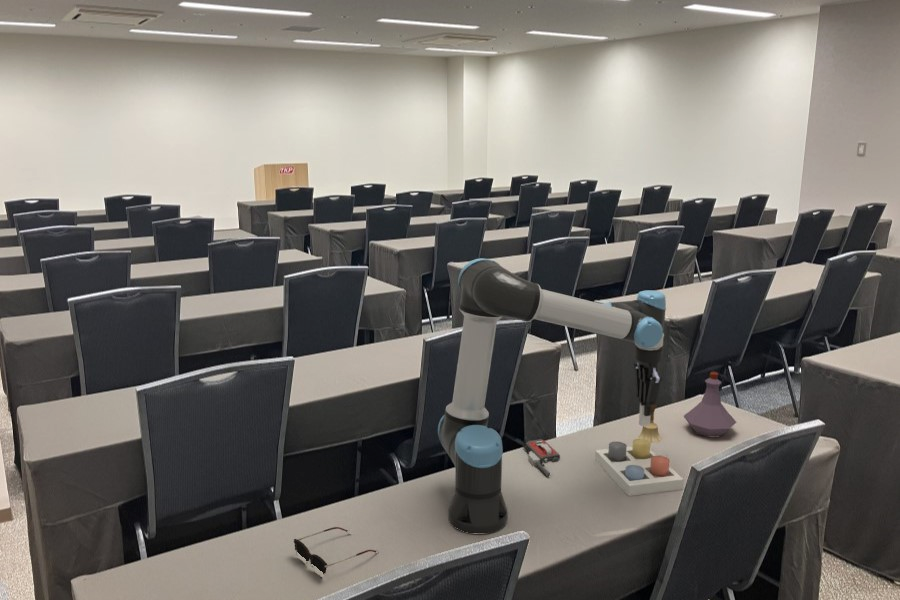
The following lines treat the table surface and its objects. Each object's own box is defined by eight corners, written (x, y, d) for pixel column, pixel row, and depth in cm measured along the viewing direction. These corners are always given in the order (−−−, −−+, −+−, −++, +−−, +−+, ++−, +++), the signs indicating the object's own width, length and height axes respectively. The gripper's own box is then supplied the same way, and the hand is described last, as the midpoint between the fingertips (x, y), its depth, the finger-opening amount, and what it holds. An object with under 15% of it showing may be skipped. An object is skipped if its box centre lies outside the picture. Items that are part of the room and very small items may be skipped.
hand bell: (631, 437, 241) (634, 390, 237) (653, 433, 244) (657, 387, 240) (645, 448, 234) (648, 399, 230) (668, 444, 236) (672, 396, 232)
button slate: (629, 487, 206) (630, 474, 205) (621, 478, 211) (622, 465, 210) (646, 485, 207) (647, 472, 206) (638, 476, 212) (639, 463, 211)
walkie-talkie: (516, 450, 233) (545, 480, 215) (517, 437, 232) (545, 465, 213) (542, 446, 236) (572, 475, 217) (543, 433, 234) (573, 461, 216)
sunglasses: (293, 557, 178) (293, 537, 177) (349, 536, 189) (350, 517, 188) (325, 584, 168) (325, 563, 167) (383, 560, 179) (383, 541, 178)
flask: (734, 424, 251) (740, 367, 246) (736, 445, 235) (743, 385, 230) (682, 418, 255) (687, 362, 250) (681, 438, 240) (686, 379, 235)
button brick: (655, 477, 207) (656, 464, 206) (646, 469, 212) (647, 456, 211) (672, 475, 208) (673, 462, 207) (662, 467, 213) (664, 454, 212)
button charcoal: (612, 462, 216) (613, 449, 215) (605, 455, 221) (606, 442, 220) (628, 460, 217) (629, 448, 216) (621, 453, 222) (621, 440, 221)
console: (628, 499, 203) (629, 485, 202) (594, 462, 224) (595, 450, 223) (682, 492, 207) (683, 479, 206) (644, 457, 228) (645, 444, 227)
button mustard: (636, 460, 218) (637, 447, 217) (628, 452, 222) (629, 439, 221) (652, 458, 219) (653, 445, 218) (644, 450, 223) (645, 438, 222)
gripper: (672, 352, 205) (667, 432, 211) (650, 338, 217) (646, 414, 223) (647, 354, 203) (642, 435, 209) (626, 340, 216) (622, 416, 222)
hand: (644, 424), depth 216 cm, fingers closed
